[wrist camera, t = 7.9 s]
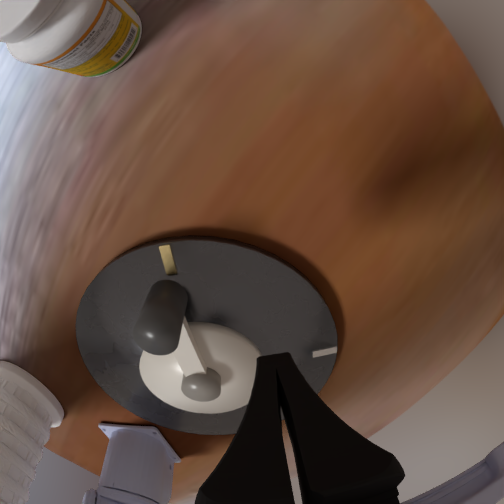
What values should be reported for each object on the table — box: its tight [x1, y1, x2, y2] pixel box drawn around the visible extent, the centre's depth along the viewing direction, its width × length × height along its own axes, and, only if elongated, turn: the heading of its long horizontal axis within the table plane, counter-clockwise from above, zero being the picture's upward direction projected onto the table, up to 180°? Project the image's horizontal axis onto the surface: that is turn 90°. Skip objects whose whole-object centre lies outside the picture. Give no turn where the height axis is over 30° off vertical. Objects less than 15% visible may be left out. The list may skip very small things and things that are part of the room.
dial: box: [133, 280, 262, 414], centre depth 19 cm, size 14×10×5 cm
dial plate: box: [76, 236, 337, 435], centre depth 22 cm, size 22×22×1 cm
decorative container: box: [0, 361, 64, 504], centre depth 17 cm, size 12×12×18 cm
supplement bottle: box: [0, 0, 142, 77], centre depth 8 cm, size 5×5×10 cm
